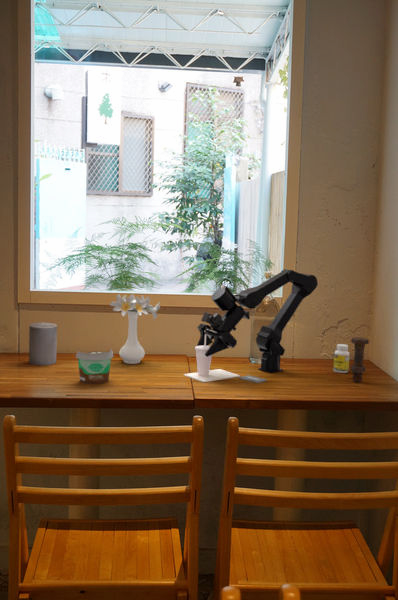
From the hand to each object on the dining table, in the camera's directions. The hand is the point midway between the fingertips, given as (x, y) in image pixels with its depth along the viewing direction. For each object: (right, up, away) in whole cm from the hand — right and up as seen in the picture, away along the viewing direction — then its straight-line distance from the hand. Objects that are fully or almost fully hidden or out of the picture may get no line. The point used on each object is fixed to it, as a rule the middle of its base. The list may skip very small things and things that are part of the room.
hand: (200, 353), depth 223 cm
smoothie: (+1, -8, +2) cm, 8 cm away
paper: (+4, -8, +3) cm, 9 cm away
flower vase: (-25, -5, +19) cm, 32 cm away
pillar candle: (-57, -4, +13) cm, 59 cm away
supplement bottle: (+51, -8, +17) cm, 54 cm away
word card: (+18, -9, 0) cm, 20 cm away
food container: (-34, -8, -11) cm, 36 cm away
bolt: (+54, -10, +3) cm, 55 cm away
